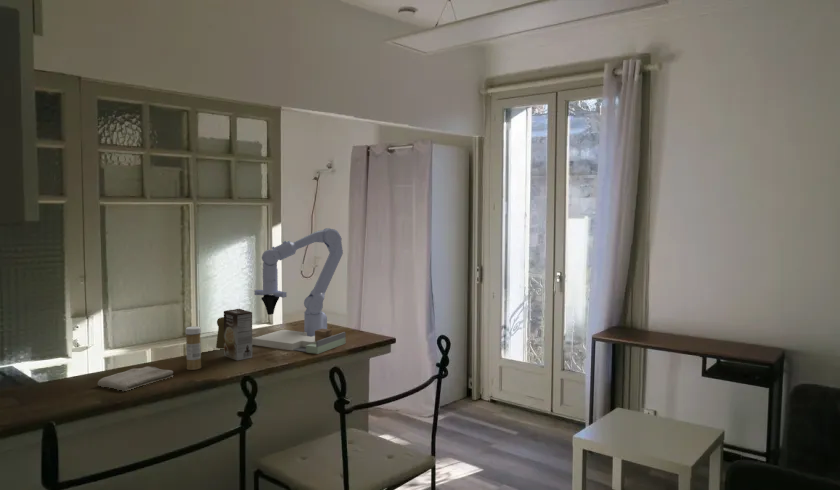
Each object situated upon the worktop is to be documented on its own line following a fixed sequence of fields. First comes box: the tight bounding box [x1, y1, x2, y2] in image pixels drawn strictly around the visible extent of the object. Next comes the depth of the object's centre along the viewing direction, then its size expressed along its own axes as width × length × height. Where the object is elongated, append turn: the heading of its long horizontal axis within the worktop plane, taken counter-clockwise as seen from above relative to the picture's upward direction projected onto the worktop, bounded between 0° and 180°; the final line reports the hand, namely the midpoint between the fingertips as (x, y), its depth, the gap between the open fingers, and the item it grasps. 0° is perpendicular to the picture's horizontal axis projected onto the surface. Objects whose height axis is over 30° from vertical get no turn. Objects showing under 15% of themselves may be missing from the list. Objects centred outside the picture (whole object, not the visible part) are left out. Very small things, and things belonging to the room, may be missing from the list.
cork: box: [215, 316, 224, 350], centre depth 222 cm, size 6×6×11 cm
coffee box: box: [223, 308, 253, 361], centre depth 207 cm, size 9×6×16 cm
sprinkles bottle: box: [185, 325, 202, 371], centre depth 192 cm, size 5×5×13 cm
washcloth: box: [97, 366, 174, 392], centre depth 178 cm, size 12×18×3 cm, turn 155°
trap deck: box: [252, 329, 347, 355], centre depth 227 cm, size 18×30×4 cm, turn 64°
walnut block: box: [315, 328, 333, 342], centre depth 222 cm, size 4×4×4 cm
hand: (270, 314), depth 238 cm, fingers closed
